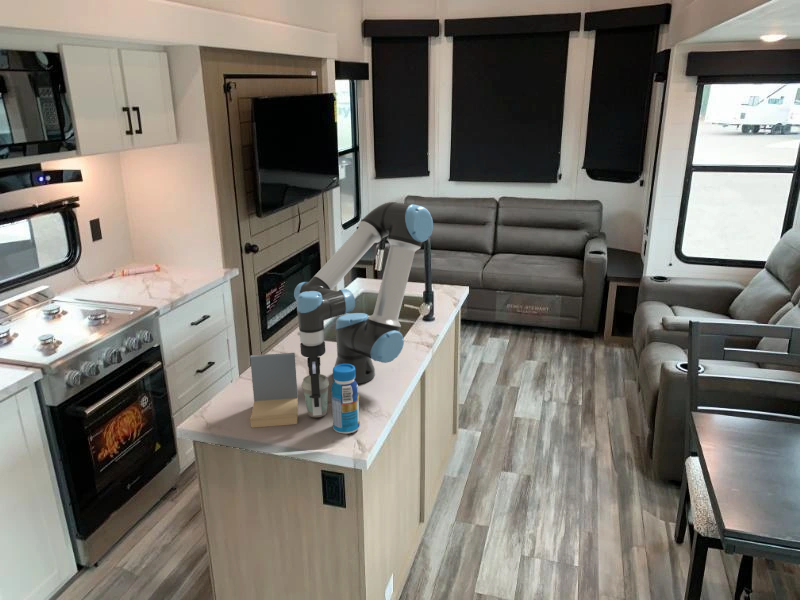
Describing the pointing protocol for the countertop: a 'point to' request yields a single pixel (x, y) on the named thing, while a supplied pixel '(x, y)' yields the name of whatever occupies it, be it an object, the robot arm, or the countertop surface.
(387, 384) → the countertop surface
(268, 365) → the grey board on stand
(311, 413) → the coffee cup
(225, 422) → the countertop surface
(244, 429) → the countertop surface
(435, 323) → the countertop surface
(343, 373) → the beverage bottle
